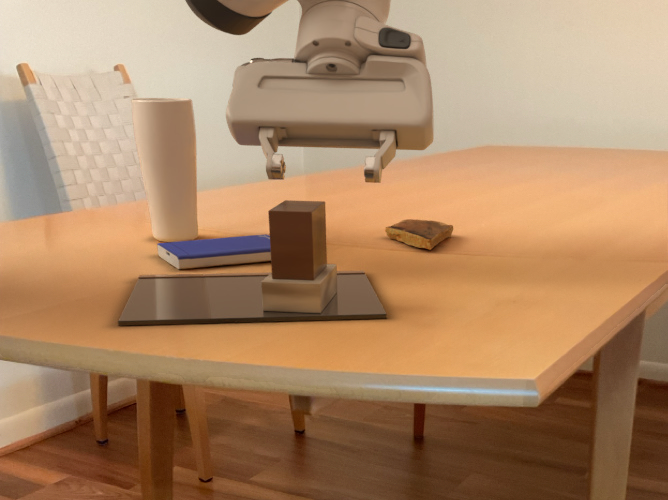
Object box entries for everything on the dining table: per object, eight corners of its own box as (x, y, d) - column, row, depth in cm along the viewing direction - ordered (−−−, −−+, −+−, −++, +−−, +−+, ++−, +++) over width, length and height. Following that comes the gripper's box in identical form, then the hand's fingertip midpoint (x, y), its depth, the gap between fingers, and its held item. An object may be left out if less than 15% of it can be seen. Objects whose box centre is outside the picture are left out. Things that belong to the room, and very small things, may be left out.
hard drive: (265, 233, 104) (156, 241, 99) (292, 244, 98) (178, 254, 92) (265, 247, 105) (158, 256, 99) (292, 260, 98) (179, 270, 93)
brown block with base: (320, 313, 77) (317, 213, 73) (262, 311, 77) (256, 212, 74) (337, 292, 84) (335, 199, 80) (284, 289, 84) (279, 198, 81)
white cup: (136, 238, 109) (119, 98, 102) (186, 232, 113) (173, 97, 106) (164, 246, 104) (149, 101, 97) (216, 240, 108) (204, 99, 101)
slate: (118, 325, 74) (117, 319, 74) (139, 280, 89) (139, 275, 89) (386, 318, 77) (386, 312, 77) (364, 275, 92) (364, 270, 92)
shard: (430, 252, 103) (430, 236, 102) (366, 248, 105) (366, 231, 104) (455, 237, 112) (456, 221, 111) (396, 232, 114) (396, 217, 113)
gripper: (229, 33, 89) (207, 150, 85) (438, 36, 87) (426, 156, 83) (244, 83, 95) (225, 195, 91) (440, 87, 93) (429, 201, 89)
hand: (323, 177), depth 87 cm, fingers open, 8 cm apart
